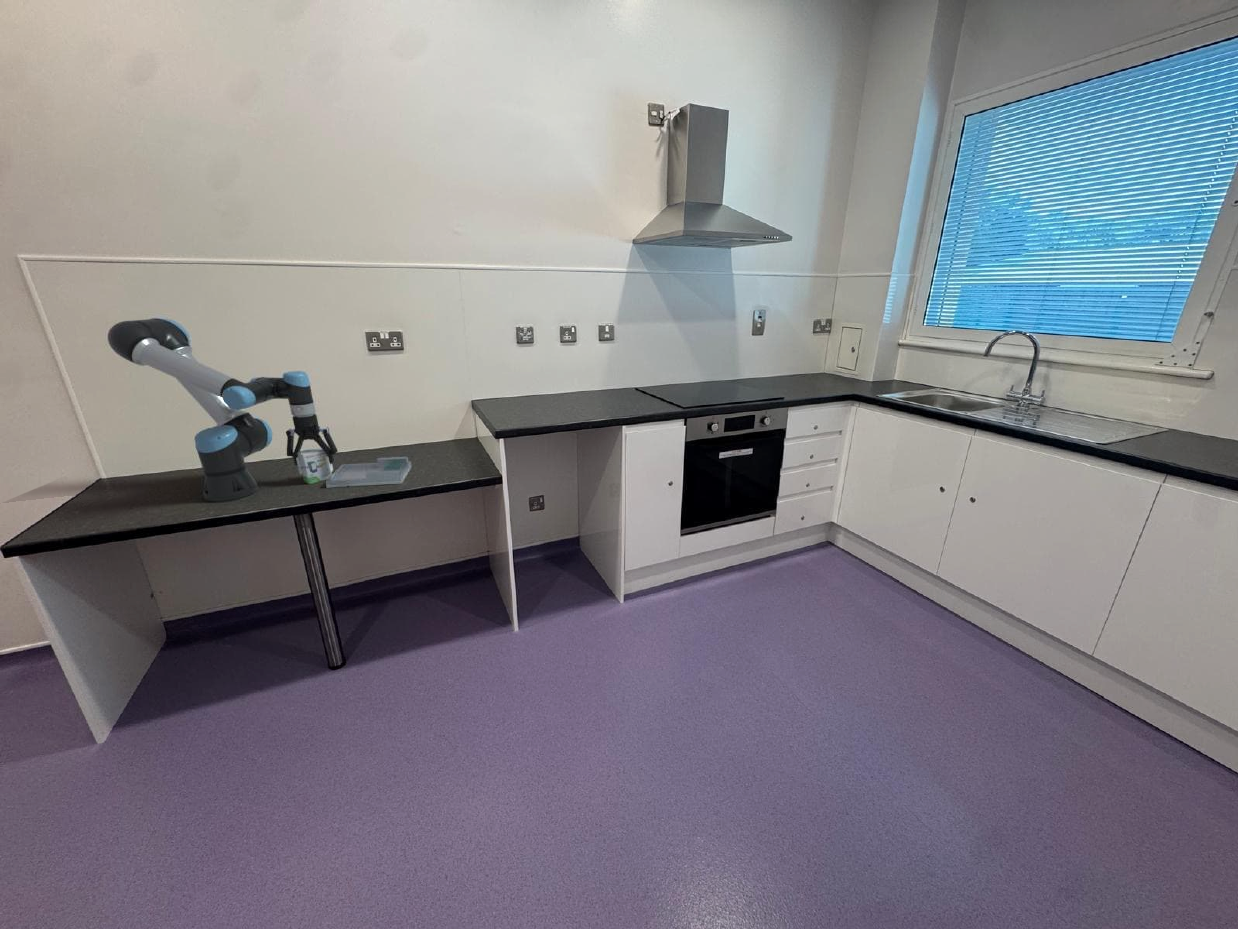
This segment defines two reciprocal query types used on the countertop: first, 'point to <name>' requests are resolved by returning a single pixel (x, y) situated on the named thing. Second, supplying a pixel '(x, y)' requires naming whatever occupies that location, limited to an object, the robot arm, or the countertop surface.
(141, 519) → the countertop surface
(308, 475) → the ink box
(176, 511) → the countertop surface
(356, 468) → the keyhole tray
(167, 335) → the robot arm
